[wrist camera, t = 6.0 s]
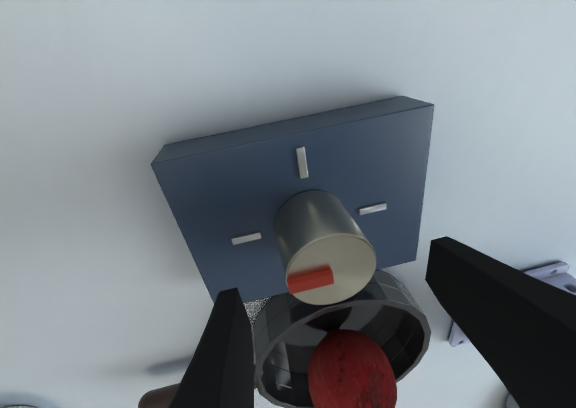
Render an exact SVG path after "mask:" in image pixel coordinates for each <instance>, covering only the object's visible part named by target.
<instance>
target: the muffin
mask: <svg viewBox="0 0 576 408" xmlns="http://www.w3.org/2000/svg"><path fill="white" fill-rule="evenodd" d="M6 408H34V407H31V406H30V407H28V406H10V407H6Z"/></svg>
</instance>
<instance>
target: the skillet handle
mask: <svg viewBox="0 0 576 408" xmlns="http://www.w3.org/2000/svg"><path fill="white" fill-rule="evenodd" d="M179 385H180V383H178V384H174V385H170V386H166V387H163V388H159V389H155V390H151V391H149V392H147V393H145V394H144V395H143V396H142V398H141V399H140V401H139V404H138V408H168V406H169V404H170V402H171V400H172V398H173V397H174V395H175V393H176V391H177V389H178V387H179ZM255 388H257V387H256V384H255V382H254V389H255Z"/></svg>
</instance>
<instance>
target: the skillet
mask: <svg viewBox="0 0 576 408" xmlns="http://www.w3.org/2000/svg"><path fill="white" fill-rule="evenodd" d="M332 329H348V330H355V331H358V332H361V333H363V334H365V335H366V336H368V337H369V338H371V339H372V340H373V341H374V342H376V343H377V344H378V345H379V346H380V347H381V348H382V350H383V351H384V353H385V354H386V356H387V357H388V360H389V363H390V365H391V368H392V370H393V373H394V376H395V380H396V383H397V382H398V381H400V380H402V379H403V378H404V377H405V376H406V375H407V374H408V373H409V372H410V371H411V370H412V369H413V368H415V367H416V366H417V365H418V363H419V362H420V360H421V359H422V357H423V356H424V354H425V353H426V351H427V349H428V346H429V341H430V336H431V330H430V327H429V324H428V321H427V319H426V316H425V315H424V313H423V312H422V311H421V309H420V308H419V307H418V305H417V304H416V302H415V301H414V300H413V298H412V297H411V295H410V294H409V293H408V291H407V290H406V288H405V287H404V286H403V285H401V283H400V282H399V281H398V280H397V279H395V278H394V277H393V276H391V275H389V274H388V273H386V272H383V271H381V270H375V272H374V274H373V276H372V278H371V279H370V281H369V282H368V283H367V285H366V286H365V287H364V288H363V289H361V290H360V291H359V292H358V293H356V294H355V295H353V296H352V297H350V298H348V299H346V300H343V301H340V302H337V303H333V304H327V305H314V304H309V303H305V302H303V301H301V300H299V299H297V298H296V297H295V296H294V295H293V294H291V295H290V293H289V292H286V293H282V294H278V295H275V296H273V297H272V298H271V299H270V300H269V301H268V302H267V303H266V305H265V306H264V307H263V309H262V310H261V311H260V313H259V315H258V316H257V318H256V320H255V323H254V326H253V331H252V341H253V352H254V382H255V384H256V387H257V389H258V391H259V393H260V395H262V396H263V397H264V398H266V399H267V400H268V401H270V402H271V403H272V404H274V405H277V406H281V407H284V408H315V406H314V405H313V402H312V399H311V396H310V392H309V382H308V365H309V361H310V357H311V356H312V354H313V352H314V350H315V348H316V347H317V345H318V344H319V342H320V341H321V340H322V339H323V338H324V337H325V336H326V334H327V332H328V331H330V330H332Z"/></svg>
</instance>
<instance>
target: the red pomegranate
mask: <svg viewBox="0 0 576 408" xmlns="http://www.w3.org/2000/svg"><path fill="white" fill-rule="evenodd" d="M308 382H309V392H310V396H311V399H312V402H313V405H314V406H315V408H395V405H396V401H397V387H396V380H395V376H394V373H393V370H392V368H391V365H390V363H389V360H388V357H387V356H386V354H385V353H384V351H383V350H382V348H381V347H380V346H379V345H378V344H377V343H376V342H374V341H373V340H372V339H371V338H369V337H368V336H366V335H365V334H363V333H361V332H358V331H355V330H348V329H332V330H330V331H328V332H327V334H326V336H325V337H324V338H323V339H322V340H321V341H320V342H319V344H318V345H317V347H316V348H315V350H314V352H313V354H312V356H311V357H310V361H309V365H308Z"/></svg>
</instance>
